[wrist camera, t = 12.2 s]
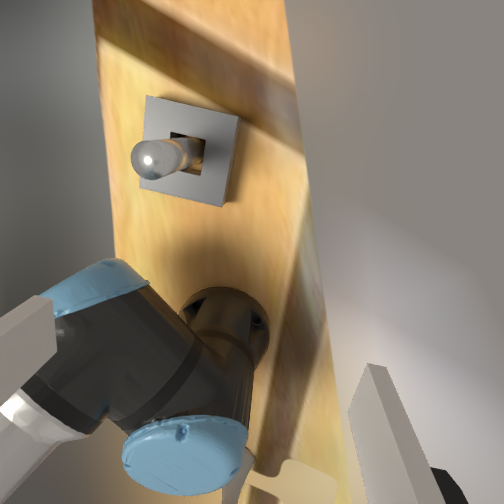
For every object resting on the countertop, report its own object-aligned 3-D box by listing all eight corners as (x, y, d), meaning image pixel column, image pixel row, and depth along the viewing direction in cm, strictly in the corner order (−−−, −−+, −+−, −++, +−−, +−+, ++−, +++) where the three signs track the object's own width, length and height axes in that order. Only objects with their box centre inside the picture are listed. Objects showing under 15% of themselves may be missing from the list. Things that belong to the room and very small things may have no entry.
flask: (234, 437, 60) (224, 494, 51) (261, 456, 61) (257, 515, 52) (211, 454, 62) (199, 511, 53) (238, 472, 64) (231, 531, 54)
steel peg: (203, 166, 41) (165, 184, 28) (178, 160, 41) (129, 175, 28) (207, 140, 40) (170, 145, 27) (182, 134, 40) (132, 136, 27)
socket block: (225, 202, 42) (221, 207, 40) (148, 184, 42) (139, 187, 40) (241, 117, 38) (238, 116, 35) (156, 97, 38) (145, 94, 35)
